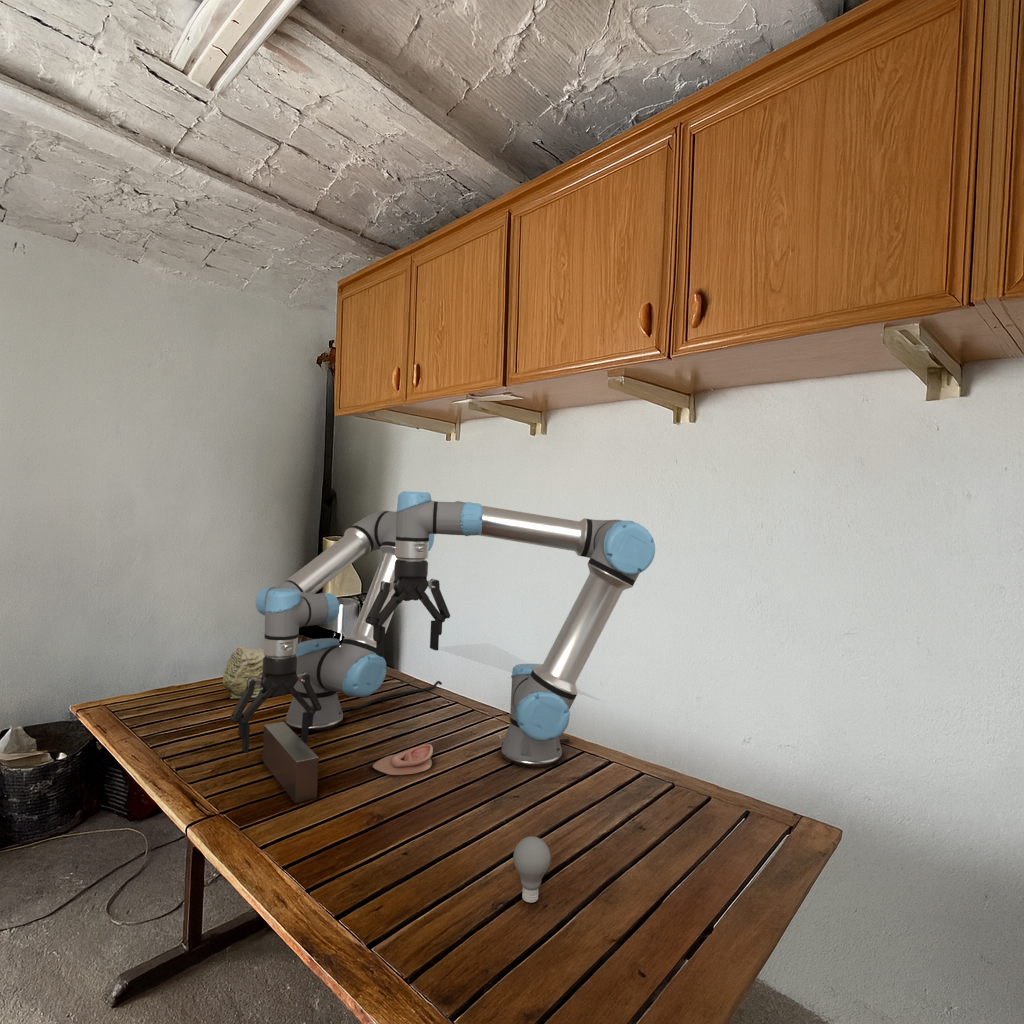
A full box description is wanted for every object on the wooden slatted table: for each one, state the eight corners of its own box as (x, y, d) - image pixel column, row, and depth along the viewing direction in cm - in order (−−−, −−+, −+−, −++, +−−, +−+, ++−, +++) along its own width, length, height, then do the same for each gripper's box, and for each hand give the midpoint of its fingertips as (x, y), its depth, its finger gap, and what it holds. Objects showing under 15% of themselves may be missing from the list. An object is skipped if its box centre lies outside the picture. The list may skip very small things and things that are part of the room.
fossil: (218, 695, 195) (220, 647, 195) (278, 685, 208) (279, 640, 207) (228, 703, 189) (230, 653, 188) (289, 692, 201) (290, 645, 201)
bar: (262, 761, 150) (263, 724, 150) (282, 757, 153) (283, 721, 153) (294, 803, 130) (296, 761, 130) (317, 797, 133) (318, 757, 133)
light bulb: (510, 888, 105) (512, 829, 104) (546, 888, 105) (548, 829, 105) (513, 912, 99) (515, 849, 98) (551, 912, 99) (554, 849, 99)
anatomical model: (367, 754, 146) (387, 737, 157) (366, 771, 146) (386, 752, 158) (422, 762, 144) (438, 743, 155) (421, 779, 144) (437, 759, 155)
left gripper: (227, 664, 138) (221, 761, 138) (337, 654, 153) (333, 741, 153) (219, 656, 144) (214, 750, 144) (326, 647, 159) (322, 732, 159)
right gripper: (366, 562, 133) (362, 662, 134) (466, 559, 148) (463, 650, 149) (352, 558, 139) (349, 654, 140) (450, 556, 154) (446, 643, 155)
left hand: (275, 746), depth 148 cm, fingers open, 13 cm apart
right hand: (407, 652), depth 144 cm, fingers open, 13 cm apart
